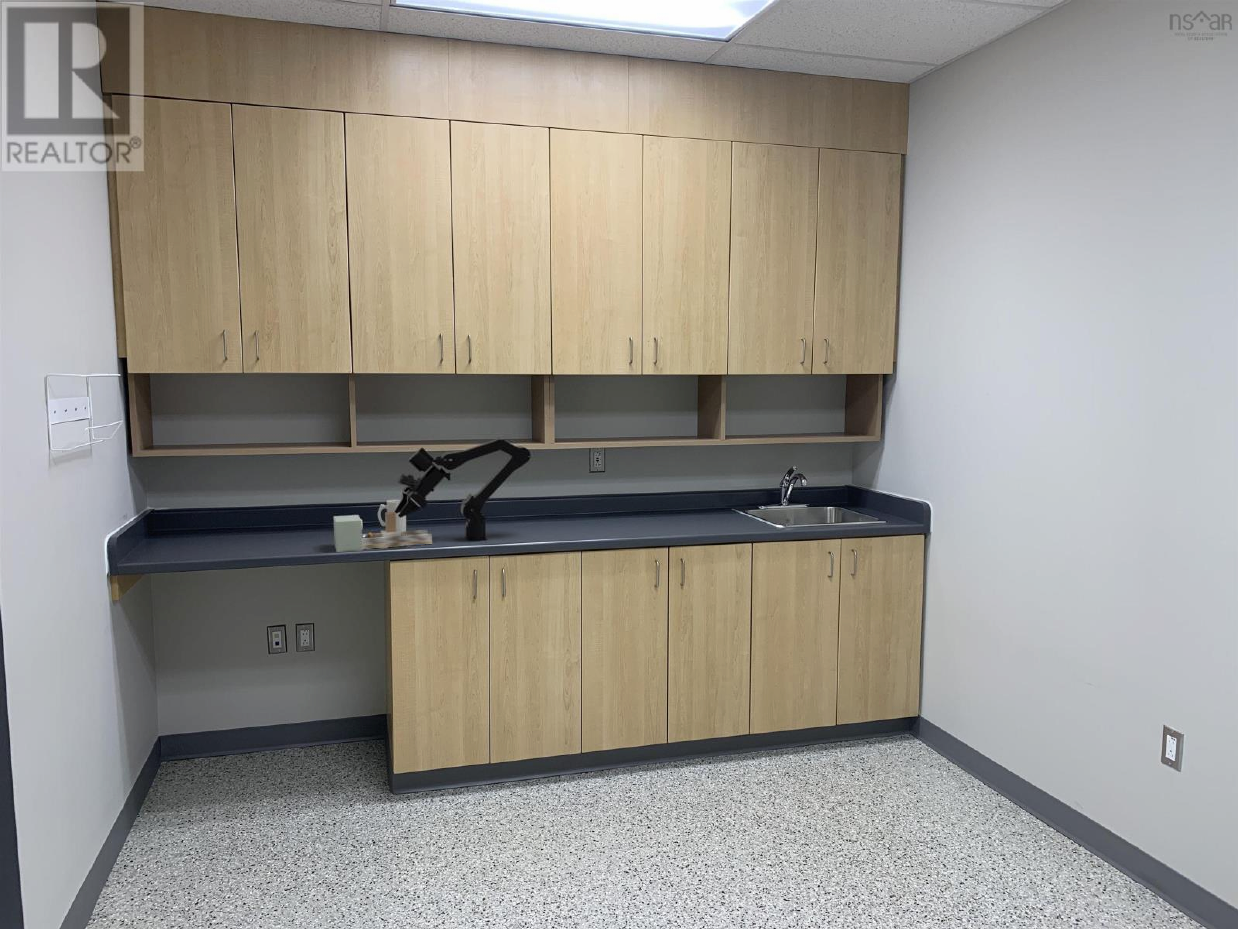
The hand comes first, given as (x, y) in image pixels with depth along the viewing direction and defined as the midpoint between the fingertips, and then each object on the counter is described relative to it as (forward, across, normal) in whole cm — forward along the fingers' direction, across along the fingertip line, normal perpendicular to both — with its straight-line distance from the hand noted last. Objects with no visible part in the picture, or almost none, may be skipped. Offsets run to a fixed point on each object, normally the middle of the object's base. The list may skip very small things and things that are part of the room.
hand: (397, 514), depth 284 cm
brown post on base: (+8, 0, +5) cm, 9 cm away
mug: (+7, -21, +8) cm, 23 cm away
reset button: (+14, 0, -2) cm, 14 cm away
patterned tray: (+8, 0, +7) cm, 10 cm away
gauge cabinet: (+19, 0, -4) cm, 19 cm away
